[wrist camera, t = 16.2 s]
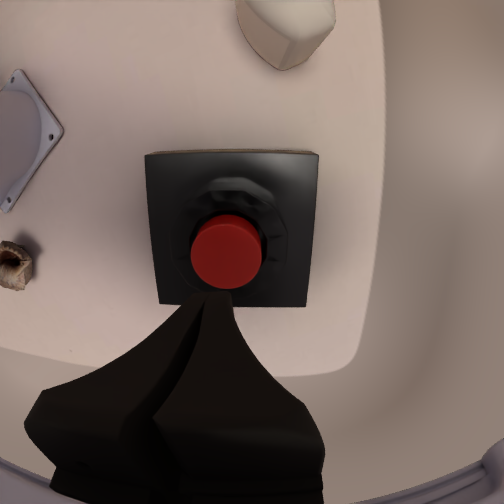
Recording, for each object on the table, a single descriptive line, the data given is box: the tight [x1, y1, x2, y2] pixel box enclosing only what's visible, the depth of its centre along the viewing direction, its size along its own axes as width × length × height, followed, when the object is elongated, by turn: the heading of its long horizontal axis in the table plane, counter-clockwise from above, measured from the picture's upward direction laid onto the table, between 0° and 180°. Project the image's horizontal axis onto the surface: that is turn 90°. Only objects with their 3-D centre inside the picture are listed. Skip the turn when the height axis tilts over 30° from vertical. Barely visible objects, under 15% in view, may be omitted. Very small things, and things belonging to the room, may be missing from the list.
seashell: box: [0, 241, 32, 291], centre depth 20 cm, size 4×8×4 cm
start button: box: [191, 214, 262, 289], centre depth 16 cm, size 4×4×2 cm
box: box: [145, 149, 319, 307], centre depth 19 cm, size 10×10×4 cm
